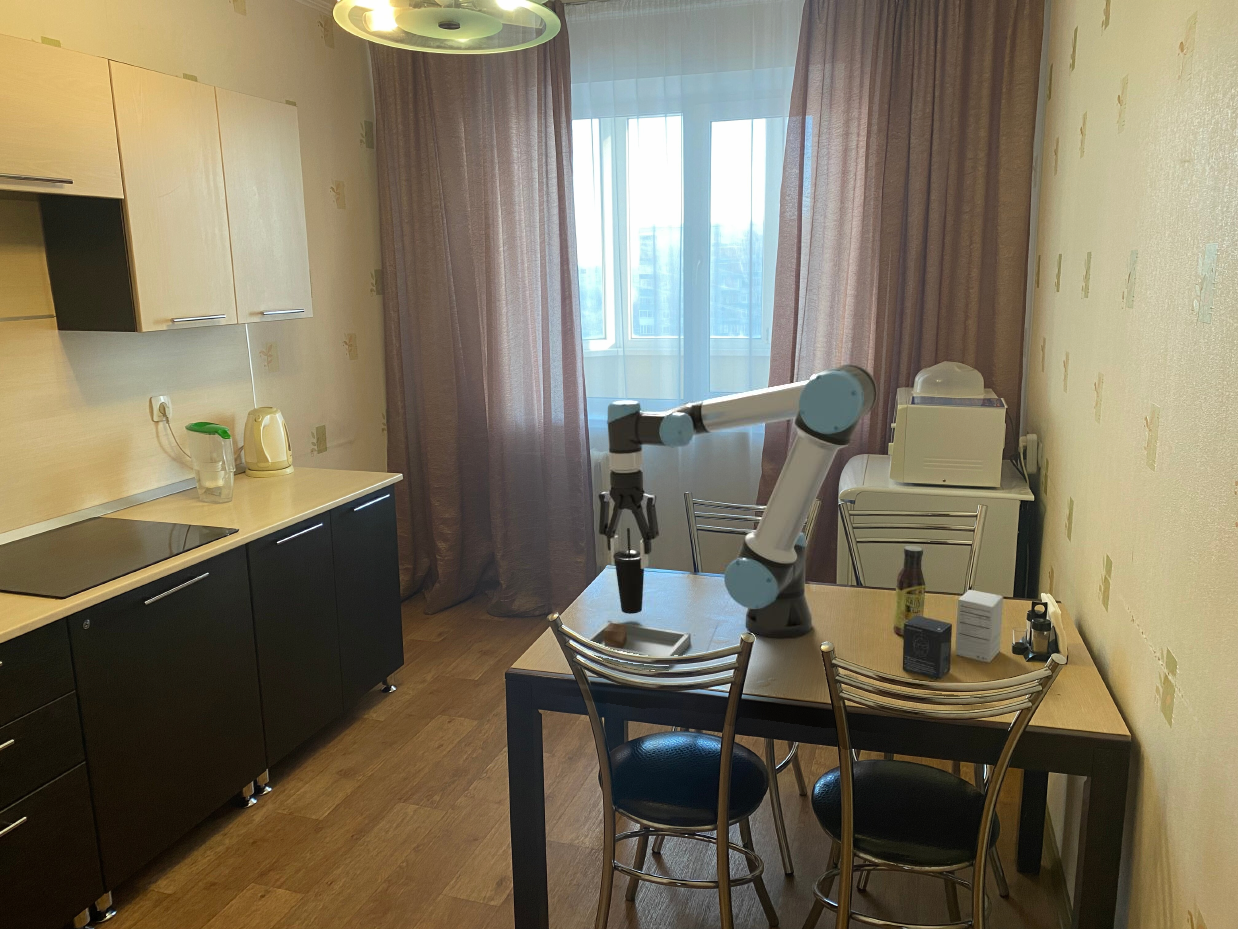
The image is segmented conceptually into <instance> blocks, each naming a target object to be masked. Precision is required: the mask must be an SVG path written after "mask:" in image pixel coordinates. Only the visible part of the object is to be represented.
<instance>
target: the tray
mask: <svg viewBox="0 0 1238 929" xmlns="http://www.w3.org/2000/svg"><path fill="white" fill-rule="evenodd" d="M608 624H622V625H626V628H627V642H626V644H625V645H624V647H623V649H620V648H614V647H609V646H605V641H604V630H605V629H606V627H607V626H608ZM691 636H692V635H691V633H689V632H682V631H676V630H669V629H662V628H658V627H657V628H656V627H651V626H644V625H638V624H632V623H627V622H626V623H625V622H619V621H612V620H608V621H606V622H605V623H604V624H603V625H602V626H601V627H599V628H598V629H596V631H594V632H593V633H592V634H591V635H590V636H588V637H587V638H586V639H588V640H590V641H593V642H596V643H599V644H602V645H604V646H605V647H608V648H610V649H613V650H617V651H623V652H627V653H633V654H639V655H648V656H674V655H679V656H680V655H681V654H682V653H683V652H684V651H685V650H686V649H687V647H688V646H689V645H690V644H691V640H692V638H691ZM653 667H654V668H655V667H656V668H659V669H668V668H669V667H670V666H653Z"/></svg>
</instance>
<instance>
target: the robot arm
mask: <svg viewBox="0 0 1238 929" xmlns="http://www.w3.org/2000/svg"><path fill="white" fill-rule="evenodd" d="M878 395H879V394H878V385H877V382H876V380H875V378H874V376H873V375H872V374H871V373H870V371H868V370H867V369H865V368H864V367H863V366H859V365H857V364H842V365H839V366H836V367H833V368H831V369H826V370H823V371H821V372H818V373H815V374H812V375H811V377H810V378H809V380H804V381H803V380H802V381H798V382H793V383H788V384H783V385H778V386H773V387H767V388H762V389H758V390H752V391H747V392H742V393H736V394H731V395H725V396H721V397H714V398H710V399H706V400H700V401H690V402H685V403H683V404H682V405H679V406H676V407H673V408H670V409H667V410H664V411H646V410H642V408H641V403H640V401H636V400H617V401H612V402H611V403H609V404H608V406H607V421H606V424H607V436H608V460H609V461H608V462H609V463H608V464H609V468H610V469H611V470H610V471H609V482H610V483H609V484H610V490H609V491H606V490H605V491H603V492H601V493H599V494H598V500H599V503H600V506H599V507H600V508H599V509H600V510H599V524H598V525H599V526H598V533H599V535H604V536H605V537H606V540H607V550H608V551H609V552H610V558H611V561H610V562H611V566H615V559H614V558H613V555H615V554H616V553H617V552H619V551H620V550H619V549H620V543H619V535H617V528H618V526H619V522H620V519H621V515H622V511H623V510H629V511H631V514H632V515H633V516H634V519H635V522H636V524H637V526H638V530H639V532H640V535H641V538H642V539H641V540H640V541H639V550H640V557H641V569H644V570H645V569H646V568H647V567H648V566H649V565H650V564H649V555H650V554H651V553H652V540H655V539H657V538H658V537H659V536H660V533H659V531H660V530H659V523H658V516H657V509H656V508H657V507H656V502H657V495H656V494H652V495H650V494H647V493H646V492H645V490H644V473H643V472H644V471H643V469H642V467H643V450H642V449H643V446H657V447H668V448H676V447H677V448H678V447H679V448H681V447H682V448H684V447H687V446H688V445H689V444H690V442H691V441H692V439H693V436H699V435H705V434H710V433H713V432H714V433H715V432H721V431H726V430H727V431H728V430H732V429H738V428H744V427H750V426H756V425H762V424H768V423H773V422H774V423H776V422H781V421H786V420H788V421H789V420H793V419H794V422H793V425H794V427H795V429H796V432H797V435H796V436H795V439H794V441H793V444H792V446H791V448H790V451H789V453H788V455H787V458H786V460H785V462H784V465H783V467H782V469H781V472H780V474H779V477H778V479H777V481H776V484H775V486H774V488H773V491H772V493H771V495H770V498H769V500H768V502H767V504H766V506H765V508H764V511H763V513H762V515H761V519H759V520H760V521H759V523H758V525H757V527H756V530H754V531H752V532H748V533H747V534H746V536H745V537H744V539H743V542H742V544H741V546H740V549H739V551H738V553H737V556H736V558H735V559H733V560H732V561H730V562H729V564H728V566H727V567H726V570H725V572H724V575H723V576H724V578H723V579H724V586H725V588H726V590H727V592H728V595H729V596H730V598H731V599H732V600H733V601H735V602H736V603H737V604H739V605H740V606H741V607H744V608H747V611H746V613H745V626H746V628H747V630H749V631H751V632H752V633H754V634H757V635H760V636H762V637H763V636H764V637H767V638H774V639H776V638H777V639H791V638H797V637H800V636H804V635H806V634H807V633H809V632H810V631H811V630H812V627H813V626H812V625H813V618H812V614H811V611H810V607H809V605H808V601H807V598H806V594H805V593H806V592H805V591H806V589H805V588H806V557H807V556H806V553H807V551H806V550H807V544H806V542H807V541H806V536H805V534H804V533H803V532H802V530H803V527H804V525H805V524H806V521H807V518H808V516H809V515H810V512H811V511H812V508H813V505H814V503H815V501H816V499H817V496H818V495H819V493H820V490H821V487H822V485H823V483H824V481H825V479H826V476H827V474H828V472H829V470H830V467H832V466H831V465H832V463H833V461H834V459H835V456H836V455H837V453H838V450H839V449H843V448H845V447H848V446H849V445H850V443H851V440H852V438H853V436H854V434H855V432H856V429H857V427H858V425H859V423H860V420H861V419H862V418H864V417H865V416H867V415H868V414H870V412H871V411H872V410H873V409H874V406H875V405H876V402H877V398H878ZM611 499H612V501H613V502H614V505H613V508H612V515H611V516H610V501H611ZM643 500H644V504H645V505H646V507H645V510H646V516H647V519H646V516H645V514H644V511H643V510H644V508H643V504H642V502H643ZM609 518H610V519H609ZM609 520H610V521H609ZM615 567H616V566H615Z"/></svg>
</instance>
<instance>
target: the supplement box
mask: <svg viewBox="0 0 1238 929" xmlns="http://www.w3.org/2000/svg"><path fill="white" fill-rule="evenodd" d="M1003 604H1004V596H1002V595H999V594H994V593H989V592H983V591H978V590H975V589H973V590H972V589H968V590H967V591H966V592H965V593H964V594H962V595H961V596H960V597H959V598H958V600H957V617H956V631H955V650H954V651H955V652H954V654H955V655H957V656H961V657H964V658H968V659H972V660H976V661H981V662H984V663H985V662H986V663H991V662H992V661H993V659H994V658H995V657H996V656H997V654H999V652H1000V651H1001V638H1002V636H1001V635H1002V623H1003V622H1002V621H1003V606H1004V605H1003Z"/></svg>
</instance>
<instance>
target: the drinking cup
mask: <svg viewBox="0 0 1238 929" xmlns="http://www.w3.org/2000/svg"><path fill="white" fill-rule="evenodd" d="M626 538H627V548H624V549H621V550H619V552H617V553H616V554H615V555H613V558H614V559H615V572H616V573H615V574H616V579H617V587H618V588H617V589H618V595H619V602H620V611H621V612H622V613H624V614H628V615H629V614H630V615H632V614H638V613H641V612H642V610H643V596H644V580H645V569H641V557H640V549H636V548H631V529H630V527H627V528H626Z"/></svg>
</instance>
